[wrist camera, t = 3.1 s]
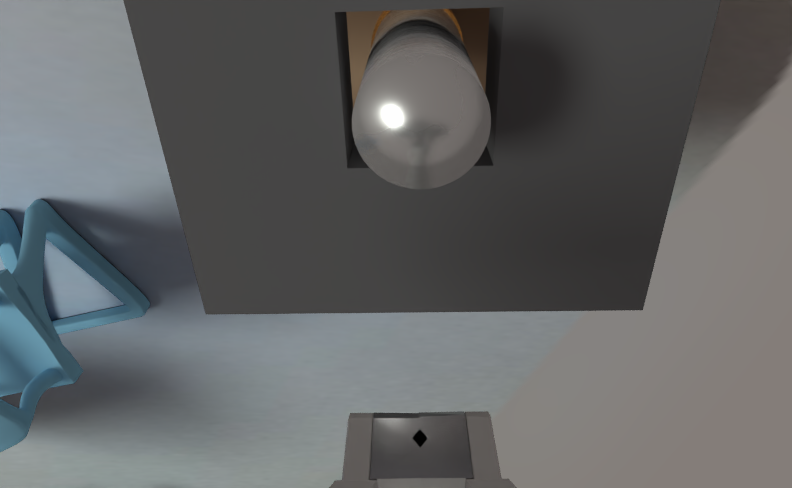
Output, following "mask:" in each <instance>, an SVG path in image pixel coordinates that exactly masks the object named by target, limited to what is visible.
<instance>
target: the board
mask: <svg viewBox="0 0 792 488" xmlns="http://www.w3.org/2000/svg"><path fill="white" fill-rule="evenodd" d="M450 10H451V11H452V12H453V14H454V15H455V17H456V19H457V22H458V24H459V26H460V29H461V32H462V37H463V43H464V45H465V48H466V50H467V52H468V55H469V57H470V59H471V62H472V64H473V66H474V69H475V71H476V73H477V76H478V78H479V80H480V83H481V85H482V87H483V90H484V92H485V87H486V68H487V50H488V31H489V12H490V8H460V9H450ZM382 12H383V11H357V12H346V14H347V28H348V42H349V56H350V71H351V85H352V99H353V108H354V104H355V101H356V97H357V94H358V91H359V87H360V84H361V81H362V77H363V74H364V71H365V68H366V64H367V61H368V58H369V54H370V51H371V41H372V35H373V31H374V28H375V25H376V22H377V20H378V18H379V16H380V14H381V13H382Z"/></svg>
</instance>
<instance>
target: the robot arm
mask: <svg viewBox="0 0 792 488" xmlns="http://www.w3.org/2000/svg"><path fill="white" fill-rule="evenodd" d="M329 488H516V487H515V486H514V484H513V483H512V482H511V481H510V480H509V479H501V473H500V468H499V462H498V457H497V451H496V445H495V440H494V435H493V428H492V423H491V417H490V414H489V413H488V412H465V413H464V412H425V413H350V416H349V419H348V427H347V437H346V446H345V456H344V465H343V475H342V480H337V481H334V483H333V484H332V485H331V486H330V487H329Z"/></svg>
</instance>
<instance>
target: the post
mask: <svg viewBox="0 0 792 488" xmlns="http://www.w3.org/2000/svg"><path fill="white" fill-rule="evenodd" d="M490 128H491V113H490V107H489V103H488V100H487V97H486V94H485V92H484V90H483V87H482V85H481V83H480V80H479V78H478V76H477V73H476V71H475V69H474V66H473V64H472V62H471V59H470V57H469V55H468V52H467V50H466V48H465V45H464V43H463V37H462V32H461V29H460V26H459V24H458V22H457V19H456V17H455V15H454V14H453V12H452V11H451V10H450V9H426V10H391V11H383V12H382V13H381V14H380V16H379V18H378V20H377V22H376V25H375V28H374V31H373V35H372V41H371V51H370V54H369V58H368V61H367V64H366V68H365V71H364V74H363V77H362V81H361V84H360V87H359V91H358V94H357V97H356V101H355V104H354V108H353V113H352V132H353V138H354V141H355V145H356V147H357V149H358V152H359V154H360V155H361V157H362V159H363V160H364V161H365V163H366V164H367V165H368V167H369V168H370V169H371V170H373V171H374V172H375V173H376V174H377V175H378V176H380V177H381V178H383V179H385V180H386V181H388V182H390V183H392V184H395V185H397V186H401V187H404V188H410V189H431V188H436V187H440V186H443V185H446V184H448V183H451V182H453V181H455V180H456V179H458V178H460V177H461V176H463V175H464V174H465V173H466V172H468V171H469V170H470V169H471V168H472V167H473V166H474V165H475V163H476V162H477V161H478V159H479V158H480V156H481V155H482V153H483V151H484V149H485V147H486V144H487V142H488V138H489V134H490Z"/></svg>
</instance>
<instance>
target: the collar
mask: <svg viewBox="0 0 792 488" xmlns="http://www.w3.org/2000/svg"><path fill="white" fill-rule="evenodd" d="M720 1H721V0H124V4H125V8H126V12H127V15H128V19H129V23H130V27H131V31H132V35H133V38H134V42H135V46H136V50H137V54H138V57H139V61H140V65H141V69H142V73H143V76H144V80H145V84H146V88H147V92H148V95H149V99H150V103H151V107H152V111H153V115H154V118H155V122H156V126H157V130H158V134H159V137H160V141H161V145H162V149H163V153H164V156H165V160H166V164H167V168H168V172H169V176H170V179H171V183H172V187H173V191H174V195H175V198H176V202H177V206H178V210H179V214H180V217H181V221H182V225H183V229H184V233H185V236H186V240H187V244H188V248H189V252H190V256H191V259H192V263H193V267H194V271H195V275H196V278H197V282H198V286H199V290H200V294H201V297H202V301H203V305H204V309H205V313H206V314H290V313H392V312H494V311H593V310H595V311H596V310H643V306H644V302H645V299H646V295H647V291H648V287H649V283H650V279H651V275H652V271H653V267H654V263H655V259H656V255H657V251H658V247H659V243H660V239H661V235H662V231H663V227H664V223H665V219H666V215H667V211H668V207H669V203H670V200H671V196H672V192H673V188H674V184H675V180H676V176H677V172H678V168H679V164H680V160H681V156H682V152H683V148H684V144H685V140H686V136H687V132H688V128H689V124H690V120H691V116H692V112H693V108H694V104H695V100H696V96H697V92H698V88H699V84H700V81H701V77H702V73H703V69H704V65H705V61H706V57H707V53H708V49H709V45H710V41H711V37H712V33H713V29H714V25H715V21H716V17H717V13H718V9H719V5H720ZM460 8H490V12H489V31H488V50H487V68H486V87H485V94H486V97H487V100H488V103H489V107H490V113H491V128H490V134H489V138H488V142H487V144H486V147H485V149H484V151H483V153H482V155H481V156H480V158H479V159H478V161H477V162H476V163H475V165H474V166H473V167H472V168H471V169H470V170H469V171H468V172H466V173H465V174H464V175H463V176H461V177H460V178H458V179H456V180H455V181H453V182H451V183H448V184H446V185H443V186H440V187H436V188H431V189H410V188H404V187H401V186H397V185H395V184H392V183H390V182H388V181H386V180H385V179H383V178H381V177H380V176H378V175H377V174H376V173H375V172H374V171H373V170H371V169H370V168H369V167H368V165H367V164H366V163H365V161H364V160H363V159H362V157H361V155H360V154H359V152H358V149H357V147H356V145H355V141H354V138H353V132H352V113H353V99H352V85H351V71H350V56H349V42H348V28H347V14H346V12H357V11H391V10H426V9H460Z"/></svg>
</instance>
